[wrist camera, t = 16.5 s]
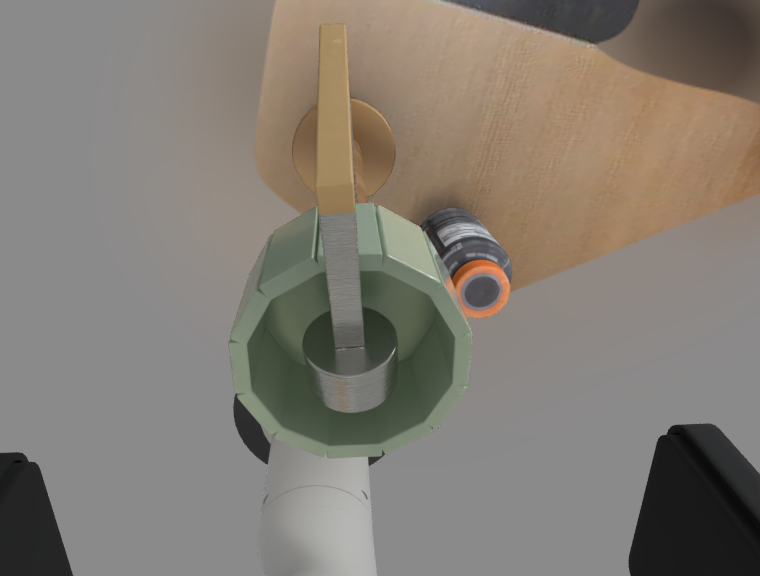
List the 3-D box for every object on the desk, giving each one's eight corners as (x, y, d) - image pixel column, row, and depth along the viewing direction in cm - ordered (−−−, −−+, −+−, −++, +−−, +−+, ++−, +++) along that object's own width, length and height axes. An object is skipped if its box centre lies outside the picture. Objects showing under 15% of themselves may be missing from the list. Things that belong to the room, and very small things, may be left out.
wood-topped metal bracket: (401, 410, 20) (400, 205, 15) (307, 416, 20) (267, 213, 15) (380, 201, 29) (374, 20, 23) (314, 205, 29) (291, 24, 23)
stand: (393, 197, 50) (442, 376, 27) (296, 199, 50) (259, 382, 26) (394, 96, 46) (452, 201, 23) (289, 97, 46) (240, 205, 23)
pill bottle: (454, 283, 54) (487, 346, 43) (401, 248, 52) (422, 306, 41) (497, 230, 52) (542, 282, 42) (443, 192, 50) (476, 237, 40)
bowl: (442, 376, 27) (464, 453, 22) (259, 382, 26) (243, 463, 22) (452, 201, 23) (479, 251, 19) (240, 205, 23) (216, 257, 18)
